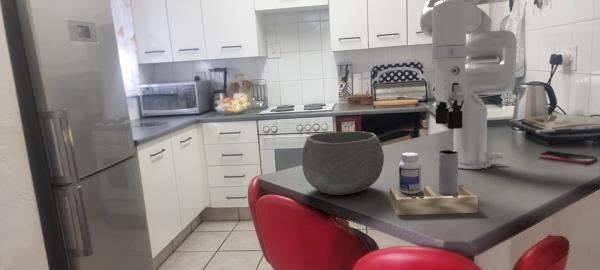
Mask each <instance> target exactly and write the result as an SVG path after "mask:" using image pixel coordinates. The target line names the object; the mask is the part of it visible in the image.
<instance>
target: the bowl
mask: <svg viewBox="0 0 600 270" xmlns="http://www.w3.org/2000/svg"><path fill="white" fill-rule="evenodd" d="M301 156H302V157H301V161H302V162H301V165H302V173H303V175H304V177H305V179H306V181H307V182H308V184H309V185H311V186H312V187H313V188H314V189H315V190H316V191H319V192H320V193H323V194H328V195H333V196H342V195H352V194H355V193H358V192H362V191H364V190H366V189H369V188H370V187H371V186H373V185H374V184H375V183H376V182H377V181H378V179H379V178H380V176H381V174H382V170H383V168H384V167H383V166H384V164H385V163H384V161H385V154H384V150H383V146H382V143H381V140H380V139H379V138H378V136H377V135H376V134H375V133H374V132H367V131H334V132H333V131H332V132H318V133H314V134H311V135H308V136H307V138H306V139H305V143H304V144H303V149H302V154H301Z"/></svg>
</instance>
